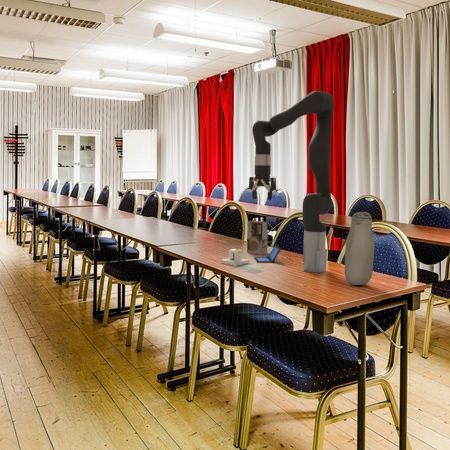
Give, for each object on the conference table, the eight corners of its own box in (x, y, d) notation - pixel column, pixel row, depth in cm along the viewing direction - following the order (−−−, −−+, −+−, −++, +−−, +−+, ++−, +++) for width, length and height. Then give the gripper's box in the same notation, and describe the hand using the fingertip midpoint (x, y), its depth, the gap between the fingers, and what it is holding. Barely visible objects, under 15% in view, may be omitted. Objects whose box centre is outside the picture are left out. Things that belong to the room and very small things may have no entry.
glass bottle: (360, 289, 178) (364, 213, 175) (338, 284, 186) (342, 211, 183) (377, 286, 184) (381, 212, 181) (355, 280, 192) (359, 210, 189)
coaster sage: (264, 267, 214) (264, 266, 214) (256, 269, 210) (256, 268, 209) (254, 265, 218) (254, 264, 218) (245, 267, 214) (245, 266, 213)
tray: (248, 264, 221) (249, 260, 220) (235, 267, 214) (235, 262, 214) (234, 261, 227) (234, 257, 226) (220, 264, 220) (220, 259, 220)
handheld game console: (253, 259, 234) (254, 244, 233) (275, 259, 235) (276, 244, 234) (257, 264, 221) (257, 248, 220) (280, 264, 222) (281, 248, 221)
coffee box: (267, 252, 251) (268, 221, 249) (261, 254, 246) (262, 222, 244) (252, 250, 256) (253, 220, 254) (246, 252, 251) (247, 221, 249)
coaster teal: (254, 269, 210) (254, 267, 210) (245, 271, 206) (245, 270, 206) (243, 267, 214) (243, 265, 214) (234, 269, 210) (234, 267, 210)
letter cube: (241, 263, 220) (241, 249, 220) (235, 264, 217) (235, 250, 216) (234, 261, 223) (235, 248, 222) (228, 263, 220) (229, 249, 219)
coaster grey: (264, 272, 204) (264, 271, 204) (255, 274, 200) (255, 273, 200) (253, 270, 208) (253, 269, 208) (244, 272, 204) (244, 271, 204)
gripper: (280, 164, 224) (279, 200, 226) (255, 164, 233) (254, 198, 235) (270, 164, 218) (269, 200, 220) (245, 164, 228) (245, 199, 230)
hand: (261, 199), depth 228 cm, fingers open, 8 cm apart
